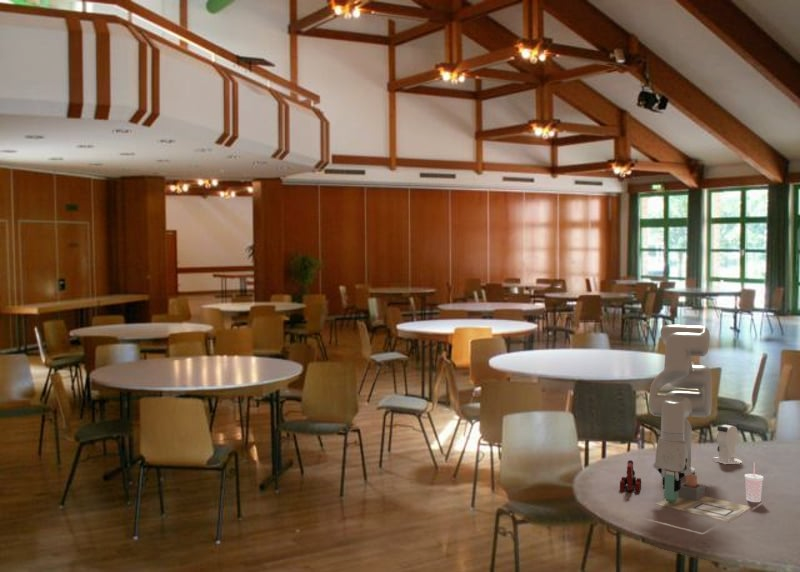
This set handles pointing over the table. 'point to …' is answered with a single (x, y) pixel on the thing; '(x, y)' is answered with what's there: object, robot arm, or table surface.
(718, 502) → the board
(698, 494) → the button housing
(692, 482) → the button
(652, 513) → the table surface
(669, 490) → the green and white block
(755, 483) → the beverage cup
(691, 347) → the robot arm
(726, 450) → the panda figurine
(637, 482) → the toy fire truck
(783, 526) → the table surface
